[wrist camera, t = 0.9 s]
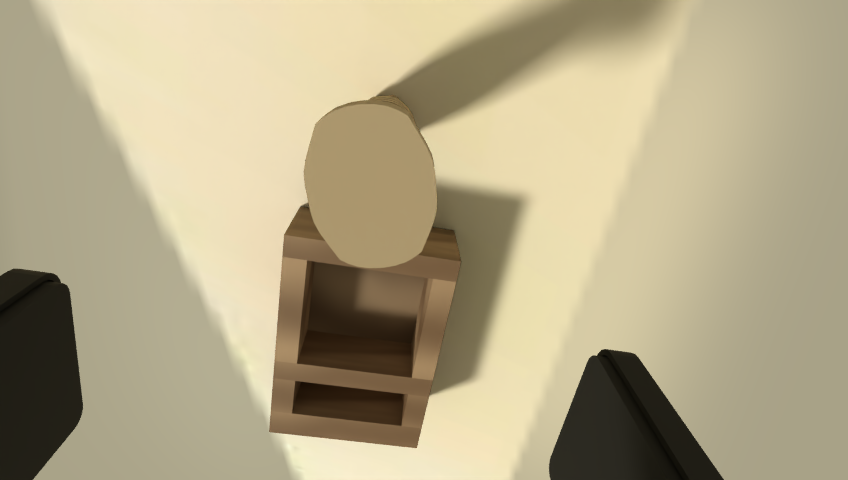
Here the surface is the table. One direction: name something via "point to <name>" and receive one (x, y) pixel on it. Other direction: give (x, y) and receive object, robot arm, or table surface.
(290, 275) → the socket block
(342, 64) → the table surface
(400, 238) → the handle
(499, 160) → the table surface
